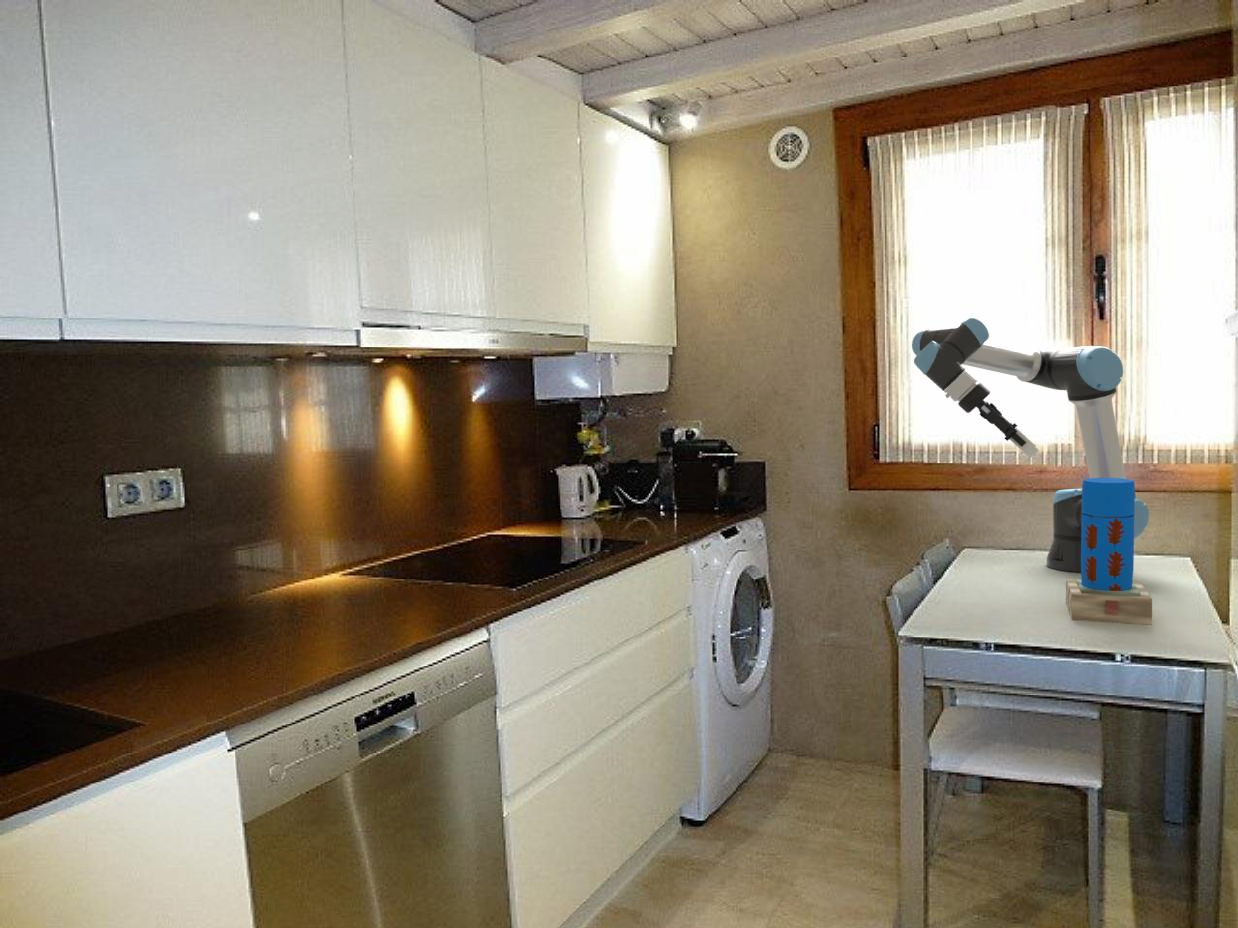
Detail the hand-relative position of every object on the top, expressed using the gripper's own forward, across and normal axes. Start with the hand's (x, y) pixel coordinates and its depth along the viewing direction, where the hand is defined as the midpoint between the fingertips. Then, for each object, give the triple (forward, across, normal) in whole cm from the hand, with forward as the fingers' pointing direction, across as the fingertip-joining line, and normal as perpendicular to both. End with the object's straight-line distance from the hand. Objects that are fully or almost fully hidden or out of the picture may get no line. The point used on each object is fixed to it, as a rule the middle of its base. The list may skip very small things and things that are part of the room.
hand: (1033, 451), depth 218 cm
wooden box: (+38, +7, -16) cm, 41 cm away
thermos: (+33, +7, -11) cm, 36 cm away
